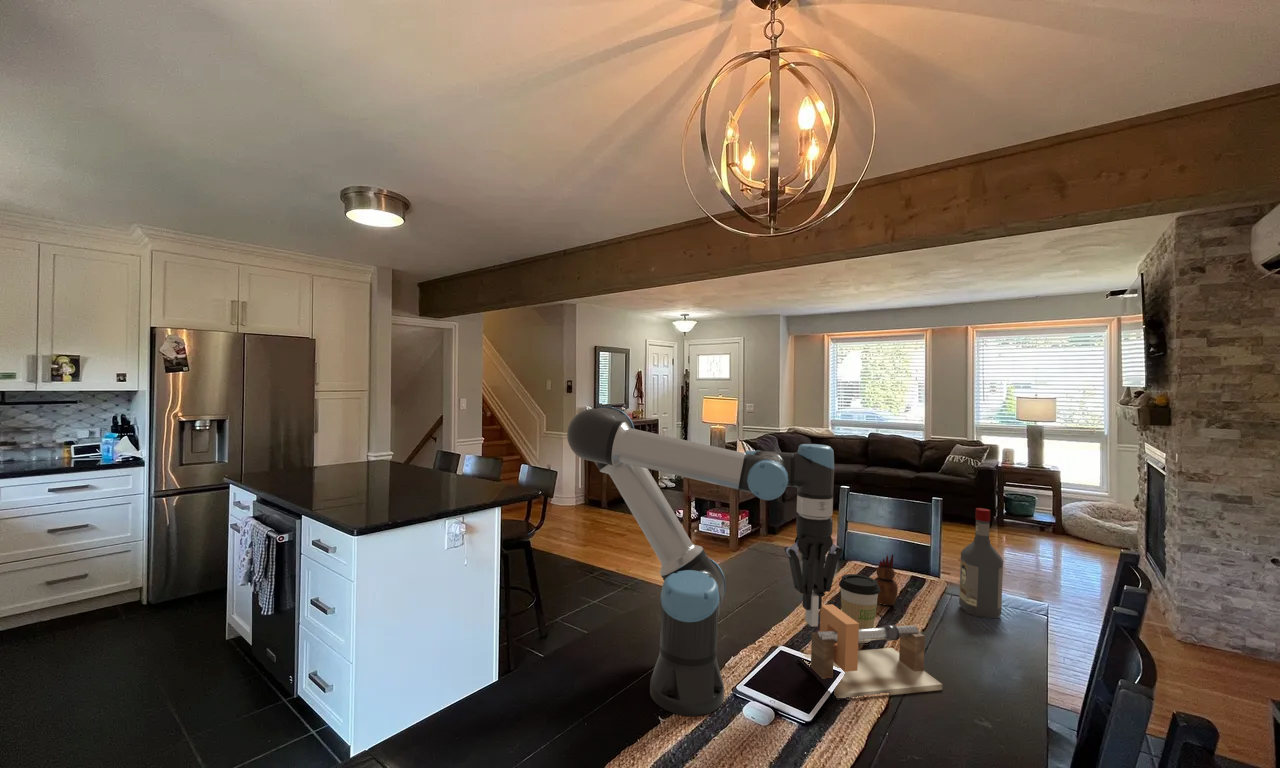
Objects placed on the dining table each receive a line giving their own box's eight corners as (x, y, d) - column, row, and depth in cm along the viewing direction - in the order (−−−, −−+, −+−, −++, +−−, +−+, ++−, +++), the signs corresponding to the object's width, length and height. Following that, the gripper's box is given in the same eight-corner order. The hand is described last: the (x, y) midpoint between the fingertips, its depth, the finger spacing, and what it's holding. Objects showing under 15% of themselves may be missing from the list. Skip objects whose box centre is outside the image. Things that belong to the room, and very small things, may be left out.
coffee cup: (882, 650, 132) (884, 589, 132) (840, 644, 133) (842, 584, 134) (873, 632, 141) (875, 575, 141) (834, 627, 143) (836, 571, 143)
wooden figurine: (898, 603, 161) (899, 553, 161) (895, 609, 156) (897, 558, 156) (873, 598, 165) (875, 549, 165) (870, 604, 160) (872, 553, 160)
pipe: (823, 648, 116) (824, 634, 116) (815, 641, 119) (816, 627, 119) (919, 641, 121) (920, 627, 121) (909, 634, 124) (910, 620, 124)
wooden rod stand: (837, 700, 109) (838, 656, 109) (798, 660, 125) (799, 622, 125) (942, 689, 115) (943, 647, 115) (892, 652, 130) (893, 615, 130)
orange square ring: (844, 671, 113) (846, 624, 113) (819, 648, 123) (820, 605, 123) (857, 670, 114) (858, 623, 114) (831, 647, 124) (832, 604, 124)
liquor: (989, 607, 161) (992, 507, 161) (1004, 620, 152) (1008, 514, 152) (956, 603, 162) (959, 505, 162) (969, 616, 153) (972, 511, 153)
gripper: (795, 520, 112) (792, 633, 112) (851, 519, 115) (848, 629, 115) (779, 512, 119) (776, 618, 119) (831, 510, 122) (829, 614, 122)
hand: (811, 623), depth 117 cm, fingers closed
